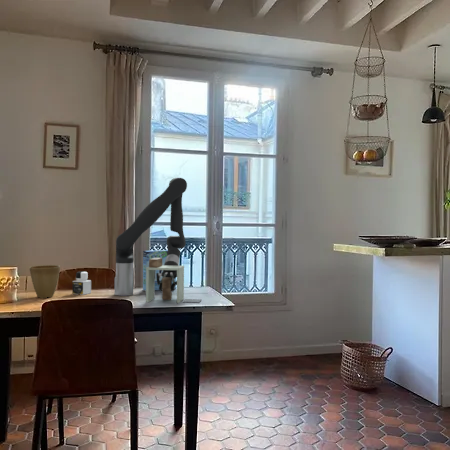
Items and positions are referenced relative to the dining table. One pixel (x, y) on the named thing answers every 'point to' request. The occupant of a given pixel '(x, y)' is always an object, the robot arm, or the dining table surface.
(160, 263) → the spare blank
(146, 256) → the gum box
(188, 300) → the mat
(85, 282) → the medicine bottle
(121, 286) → the robot arm
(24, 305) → the dining table surface
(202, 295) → the dining table surface
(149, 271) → the shelf
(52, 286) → the plant pot
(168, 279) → the block
